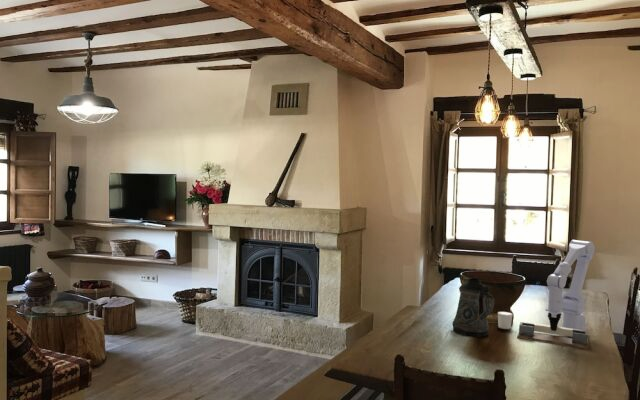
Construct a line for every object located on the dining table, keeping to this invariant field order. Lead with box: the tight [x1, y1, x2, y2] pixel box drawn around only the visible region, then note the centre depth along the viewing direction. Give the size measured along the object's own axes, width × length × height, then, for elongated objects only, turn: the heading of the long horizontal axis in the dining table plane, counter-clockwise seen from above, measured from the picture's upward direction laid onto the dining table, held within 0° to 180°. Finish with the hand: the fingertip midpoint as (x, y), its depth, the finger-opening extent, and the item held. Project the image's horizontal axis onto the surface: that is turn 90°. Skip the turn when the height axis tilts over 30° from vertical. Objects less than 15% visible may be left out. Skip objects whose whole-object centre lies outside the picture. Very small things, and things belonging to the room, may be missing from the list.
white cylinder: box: [497, 311, 513, 330], centre depth 262 cm, size 7×7×7 cm
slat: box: [525, 321, 582, 338], centre depth 251 cm, size 24×3×3 cm, turn 65°
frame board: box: [516, 332, 589, 350], centre depth 243 cm, size 29×10×1 cm, turn 64°
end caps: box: [518, 321, 589, 345], centre depth 243 cm, size 28×6×4 cm, turn 64°
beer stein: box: [451, 277, 495, 338], centre depth 250 cm, size 16×19×25 cm
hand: (553, 329), depth 251 cm, fingers closed on slat, 3 cm apart
